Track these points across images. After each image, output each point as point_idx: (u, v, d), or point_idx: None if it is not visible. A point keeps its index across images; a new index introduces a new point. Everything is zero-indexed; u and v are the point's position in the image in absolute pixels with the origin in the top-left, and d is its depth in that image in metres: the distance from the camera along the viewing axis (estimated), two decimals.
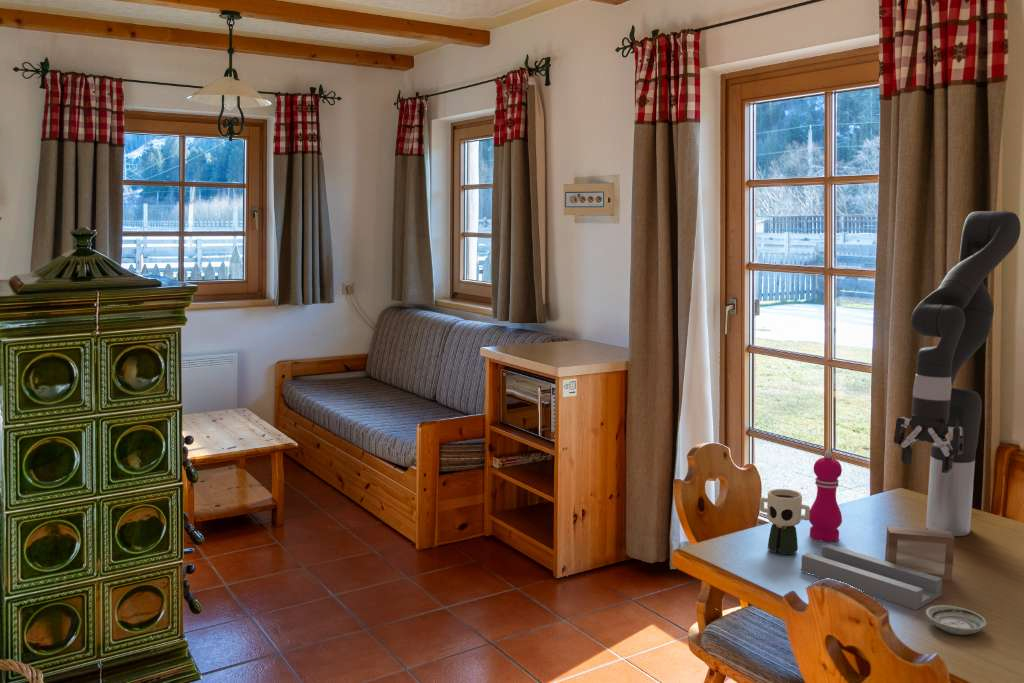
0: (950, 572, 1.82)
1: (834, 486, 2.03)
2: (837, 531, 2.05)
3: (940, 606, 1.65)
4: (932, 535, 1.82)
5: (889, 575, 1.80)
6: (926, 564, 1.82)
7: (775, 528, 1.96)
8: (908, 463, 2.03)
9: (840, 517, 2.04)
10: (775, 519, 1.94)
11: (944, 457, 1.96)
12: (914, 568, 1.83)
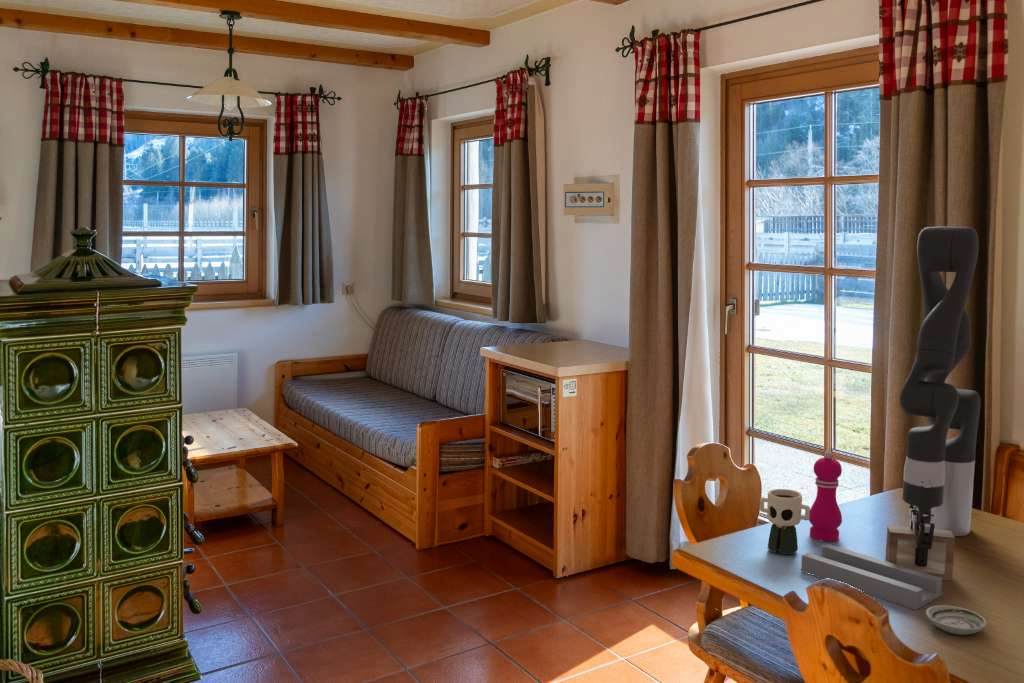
0: (950, 571, 1.82)
1: (834, 486, 2.03)
2: (837, 531, 2.05)
3: (940, 606, 1.65)
4: (933, 535, 1.82)
5: (889, 575, 1.80)
6: None
7: (775, 527, 1.96)
8: None
9: (840, 517, 2.04)
10: (775, 519, 1.94)
11: None
12: (914, 567, 1.83)
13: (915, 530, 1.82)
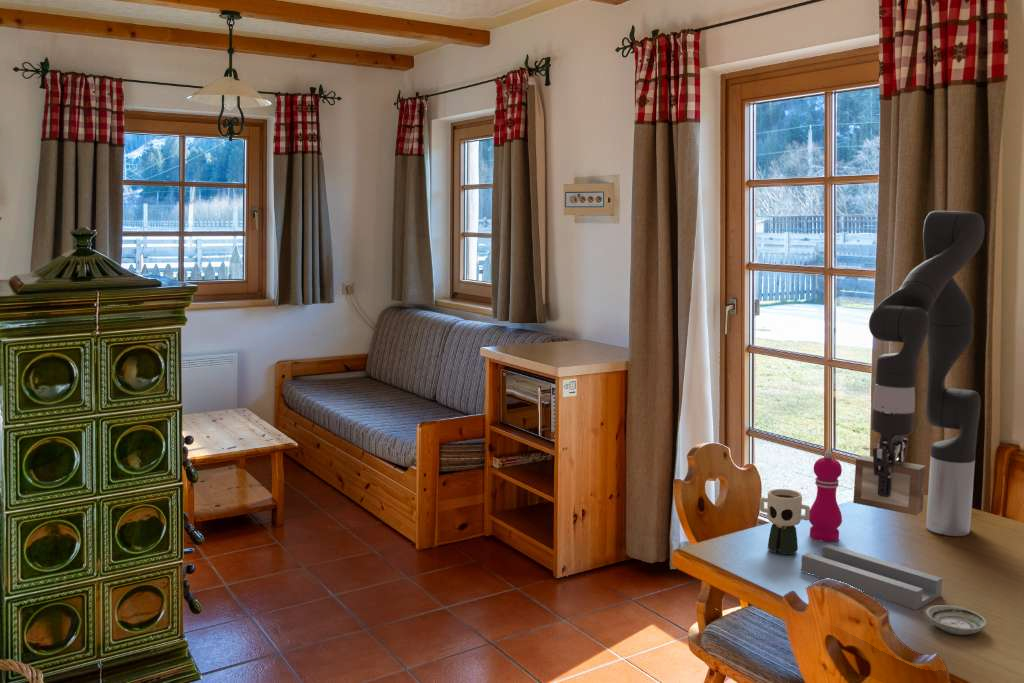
0: (915, 506, 1.74)
1: (834, 486, 2.03)
2: (837, 531, 2.05)
3: (940, 606, 1.65)
4: (898, 465, 1.76)
5: (889, 575, 1.80)
6: (890, 494, 1.77)
7: (775, 527, 1.96)
8: None
9: (840, 517, 2.04)
10: (775, 519, 1.94)
11: None
12: (879, 498, 1.78)
13: None
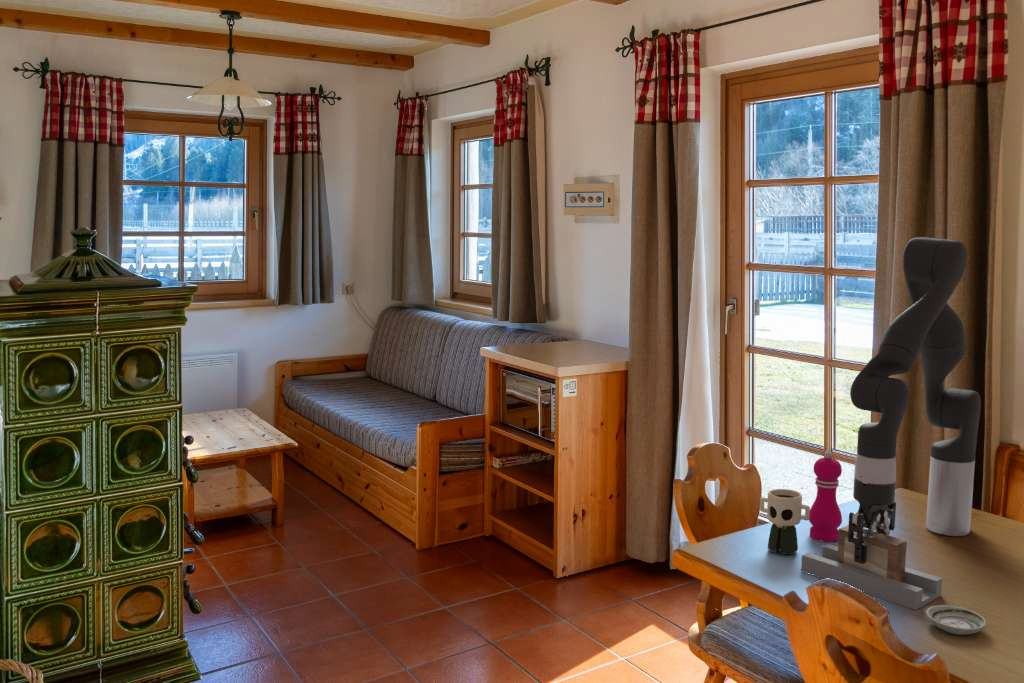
0: None
1: (834, 486, 2.03)
2: (837, 531, 2.05)
3: (940, 606, 1.65)
4: (878, 539, 1.77)
5: None
6: (869, 567, 1.78)
7: (775, 527, 1.96)
8: None
9: (840, 517, 2.04)
10: (775, 519, 1.94)
11: None
12: None
13: None
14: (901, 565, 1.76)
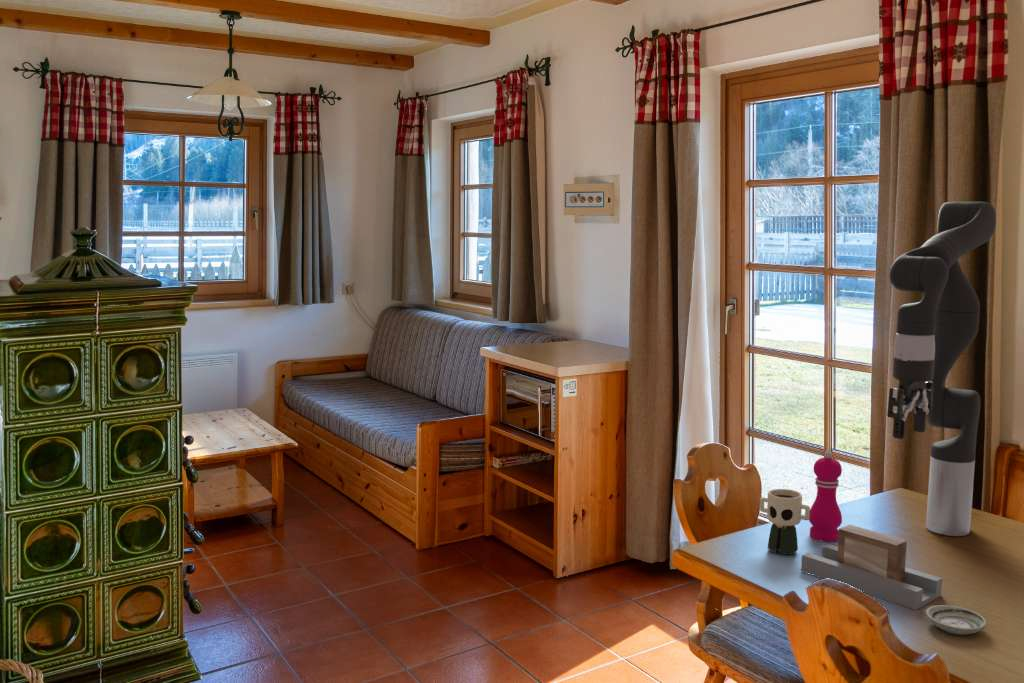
0: None
1: (834, 486, 2.03)
2: (837, 531, 2.05)
3: (940, 606, 1.65)
4: (878, 539, 1.77)
5: None
6: (869, 567, 1.78)
7: (775, 527, 1.96)
8: None
9: (840, 517, 2.04)
10: (775, 519, 1.94)
11: (925, 416, 1.86)
12: None
13: None
14: (901, 565, 1.76)
